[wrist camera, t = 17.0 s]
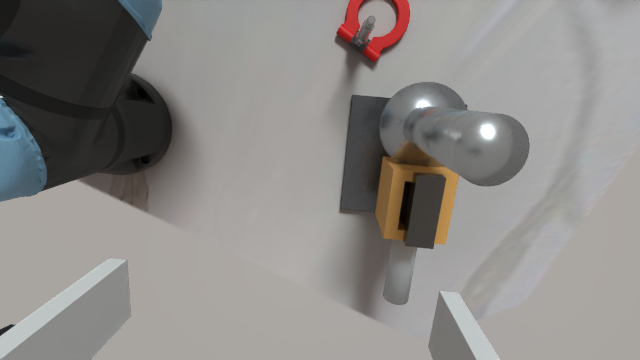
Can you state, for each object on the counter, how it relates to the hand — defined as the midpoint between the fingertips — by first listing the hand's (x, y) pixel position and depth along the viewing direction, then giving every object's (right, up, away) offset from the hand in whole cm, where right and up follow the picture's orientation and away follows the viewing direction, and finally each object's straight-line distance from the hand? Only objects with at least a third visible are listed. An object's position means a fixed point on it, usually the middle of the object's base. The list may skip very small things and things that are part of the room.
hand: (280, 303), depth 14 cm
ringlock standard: (+14, +10, +35) cm, 39 cm away
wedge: (+13, +5, +34) cm, 37 cm away
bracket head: (+13, -1, +31) cm, 34 cm away
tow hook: (+9, +27, +31) cm, 42 cm away
